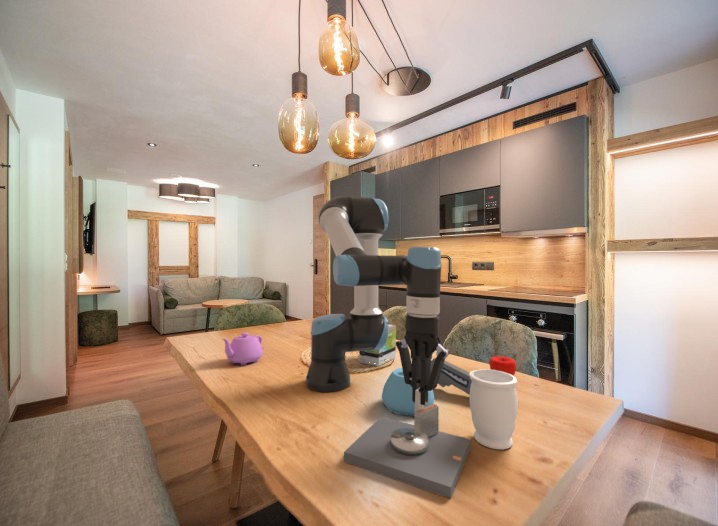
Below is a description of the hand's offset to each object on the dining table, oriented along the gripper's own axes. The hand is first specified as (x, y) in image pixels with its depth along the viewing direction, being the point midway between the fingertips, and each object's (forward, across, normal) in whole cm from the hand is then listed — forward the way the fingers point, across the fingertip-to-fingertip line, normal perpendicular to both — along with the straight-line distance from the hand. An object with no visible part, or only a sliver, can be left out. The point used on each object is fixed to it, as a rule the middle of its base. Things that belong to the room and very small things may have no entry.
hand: (419, 417), depth 75 cm
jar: (+6, +13, +12) cm, 18 cm away
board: (+6, +1, -5) cm, 8 cm away
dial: (+4, +1, -3) cm, 5 cm away
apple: (+6, +3, +55) cm, 55 cm away
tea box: (+8, -45, +46) cm, 65 cm away
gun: (+7, -6, +34) cm, 35 cm away
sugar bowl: (+7, -12, +16) cm, 21 cm away
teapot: (+9, -87, +8) cm, 88 cm away
